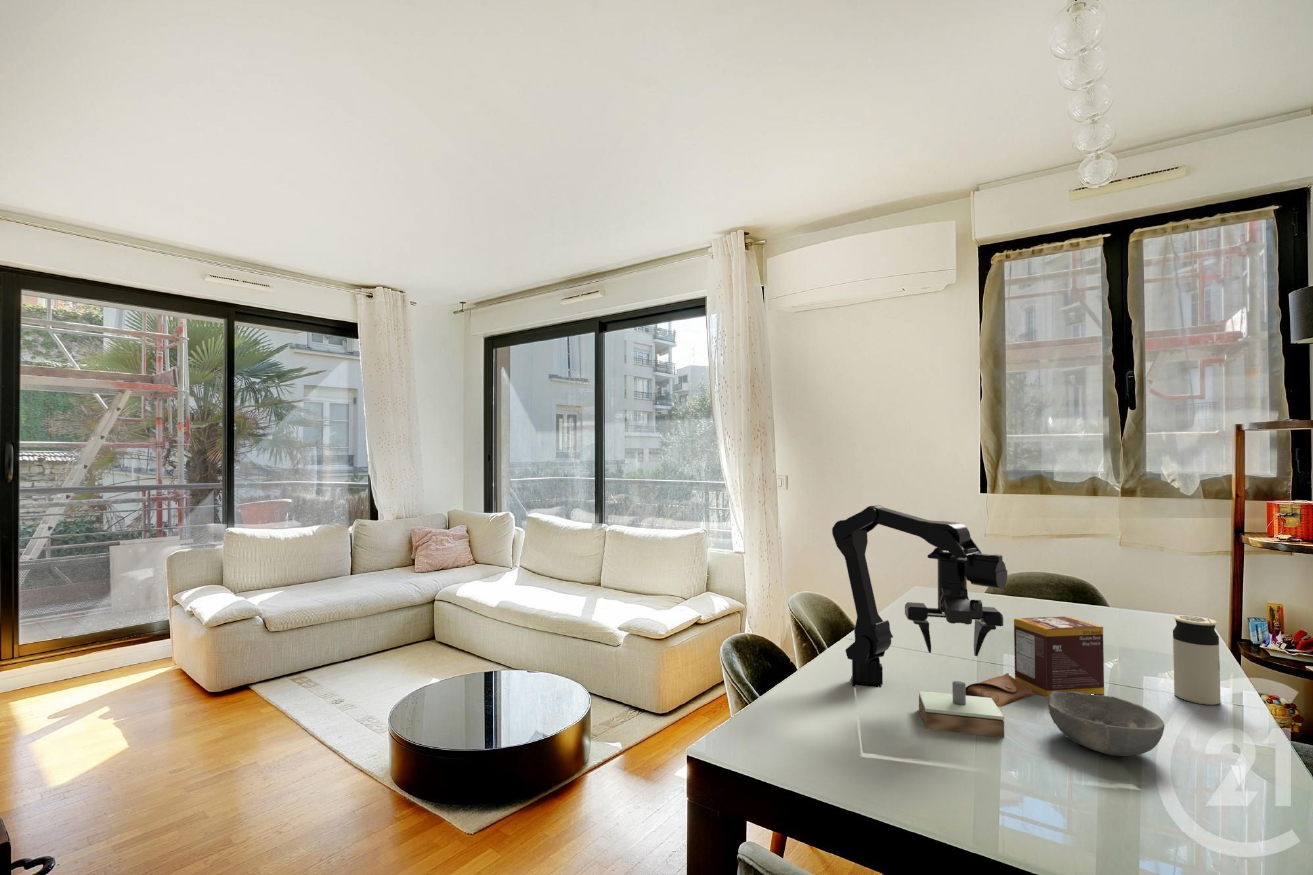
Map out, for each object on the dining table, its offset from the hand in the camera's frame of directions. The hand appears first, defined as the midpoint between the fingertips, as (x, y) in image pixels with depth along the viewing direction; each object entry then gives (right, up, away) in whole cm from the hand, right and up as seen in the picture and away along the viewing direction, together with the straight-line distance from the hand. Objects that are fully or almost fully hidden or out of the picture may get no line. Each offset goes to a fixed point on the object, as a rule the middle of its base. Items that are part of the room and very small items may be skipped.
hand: (952, 653), depth 136 cm
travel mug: (+59, -13, +7) cm, 60 cm away
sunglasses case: (+15, -13, +7) cm, 21 cm away
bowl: (+20, -12, -19) cm, 29 cm away
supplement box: (+31, -13, +13) cm, 36 cm away
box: (-3, -12, -8) cm, 15 cm away
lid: (-3, -8, -8) cm, 12 cm away
